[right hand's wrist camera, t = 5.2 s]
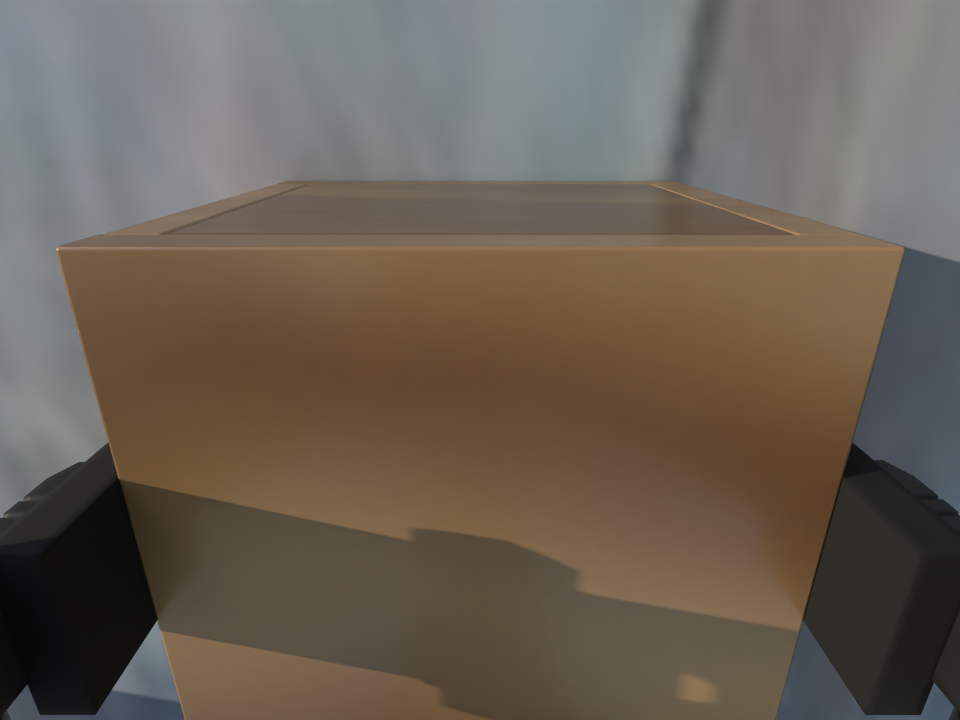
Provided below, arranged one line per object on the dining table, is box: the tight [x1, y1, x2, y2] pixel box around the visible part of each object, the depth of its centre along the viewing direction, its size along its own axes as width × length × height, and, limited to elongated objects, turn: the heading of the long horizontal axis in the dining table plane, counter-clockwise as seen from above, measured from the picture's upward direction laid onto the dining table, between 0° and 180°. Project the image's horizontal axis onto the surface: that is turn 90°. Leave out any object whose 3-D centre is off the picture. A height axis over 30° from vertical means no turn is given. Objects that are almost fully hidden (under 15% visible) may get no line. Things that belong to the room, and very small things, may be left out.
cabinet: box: [56, 181, 905, 720], centre depth 15 cm, size 20×10×9 cm, turn 0°
